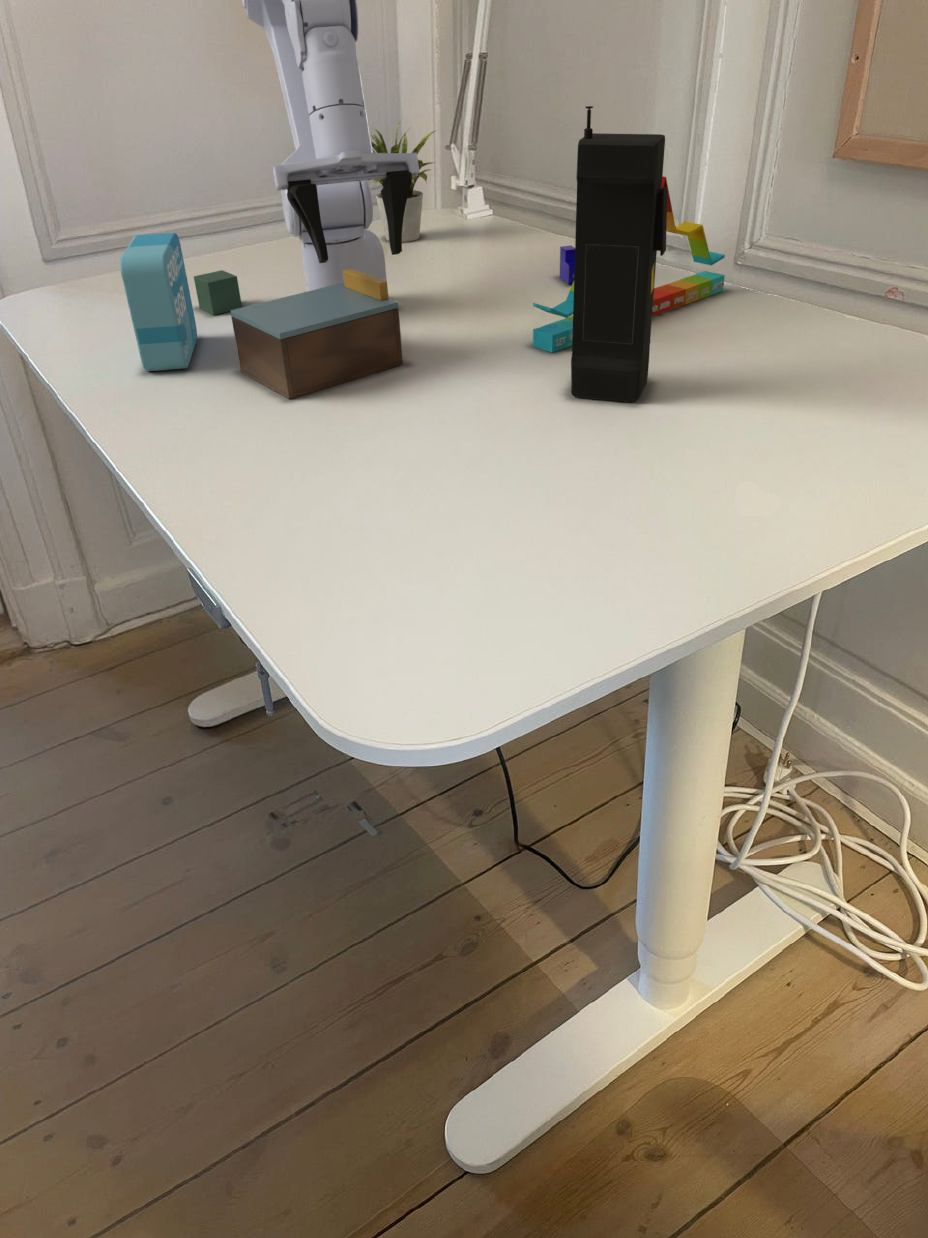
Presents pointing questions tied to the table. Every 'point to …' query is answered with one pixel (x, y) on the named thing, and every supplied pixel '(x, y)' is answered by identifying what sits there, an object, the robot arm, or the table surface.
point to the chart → (664, 296)
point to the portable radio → (616, 261)
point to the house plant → (414, 197)
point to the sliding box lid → (319, 306)
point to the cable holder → (567, 264)
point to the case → (319, 353)
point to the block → (217, 292)
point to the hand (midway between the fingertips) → (360, 257)
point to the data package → (159, 301)
